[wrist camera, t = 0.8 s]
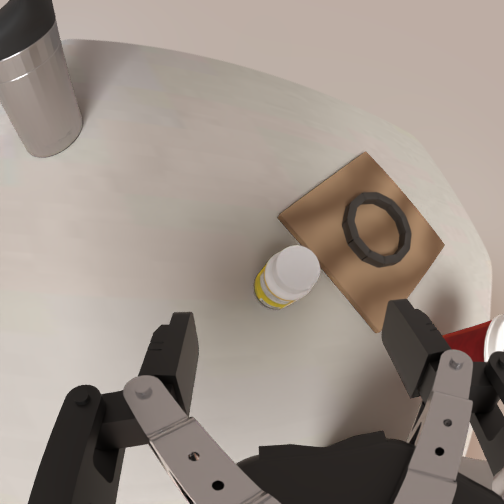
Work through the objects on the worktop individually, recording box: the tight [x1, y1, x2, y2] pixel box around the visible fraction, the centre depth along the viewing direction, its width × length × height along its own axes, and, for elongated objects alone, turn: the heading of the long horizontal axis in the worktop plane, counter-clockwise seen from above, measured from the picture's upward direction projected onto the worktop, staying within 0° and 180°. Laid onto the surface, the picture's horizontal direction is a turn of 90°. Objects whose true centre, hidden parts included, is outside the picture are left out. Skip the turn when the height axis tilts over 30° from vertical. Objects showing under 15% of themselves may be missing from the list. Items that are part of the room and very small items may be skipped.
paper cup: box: [443, 314, 504, 362], centre depth 29 cm, size 8×8×14 cm
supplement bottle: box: [253, 245, 320, 310], centre depth 31 cm, size 5×5×8 cm
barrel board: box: [278, 152, 444, 333], centre depth 38 cm, size 18×18×2 cm
